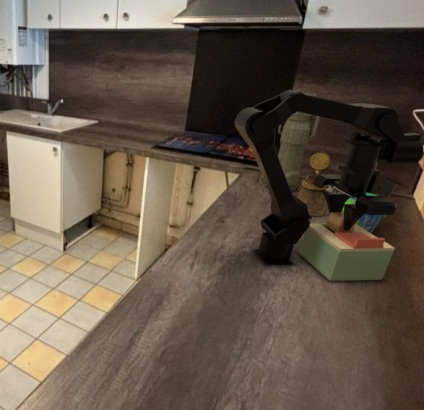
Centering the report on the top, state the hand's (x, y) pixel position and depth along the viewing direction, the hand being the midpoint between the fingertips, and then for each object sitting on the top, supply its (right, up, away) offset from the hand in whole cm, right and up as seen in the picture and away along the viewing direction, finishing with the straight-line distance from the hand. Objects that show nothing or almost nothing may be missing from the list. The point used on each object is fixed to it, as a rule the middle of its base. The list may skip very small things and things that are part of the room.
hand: (340, 226), depth 86 cm
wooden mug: (+13, +4, +33) cm, 35 cm away
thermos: (+14, +11, +50) cm, 53 cm away
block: (0, -1, 0) cm, 1 cm away
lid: (0, -3, -2) cm, 3 cm away
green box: (0, -10, +1) cm, 10 cm away
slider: (0, -3, -5) cm, 6 cm away
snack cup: (+18, -2, +18) cm, 25 cm away
